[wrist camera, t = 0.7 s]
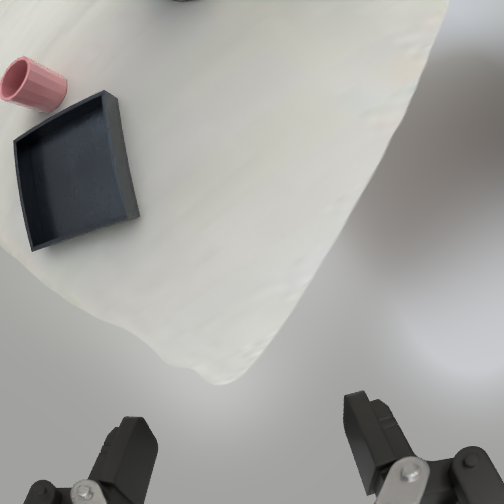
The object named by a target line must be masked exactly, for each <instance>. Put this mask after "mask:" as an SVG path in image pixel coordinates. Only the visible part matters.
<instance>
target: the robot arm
mask: <svg viewBox="0 0 504 504" xmlns="http://www.w3.org/2000/svg"><path fill="white" fill-rule="evenodd" d="M176 1H188V0H176ZM343 415H344V416H343V423H344V429H345V433H346V436H347V438H348V442H349V444H350V447H351V450H352V453H353V456H354V459H355V461H356V465H357V467H358V470H359V473H360V476H361V479H362V482H363V485H364V488H365V491H366V494H367V496H368V495H371V494H374V493H375V495H376V498H377V499H376V501H375V503H374V504H504V483H503V481H502V479H501V477H500V475H499V474H498V472H497V470H496V469H495V467H494V465H493V463H492V462H491V460H490V458H489V457H488V455H487V453H486V452H485V451H484V450H483V449H482V448H480V447H476V446H470V447H466V448H463V449H462V450H460V451H459V452H458V453H457V454H456V455H455V457H454V458H450V459H444V460H439V461H425V460H423V459H422V458H419V457H417V456H416V455H415V454H414V452H413V451H412V449H411V447H410V445H409V443H408V441H407V439H406V438H405V436H404V434H403V432H402V430H401V428H400V427H399V425H398V423H397V421H396V419H395V418H394V417H393V414H392V412H391V411H390V409H389V407H388V406H387V405H386V404H385V403H383V402H382V401H380V400H379V399H377V400H374V401H371V402H370V401H369V399H368V397H367V395H366V393H365V392H364V391H359V392H355V393H352V394H348V395H345V396H344V414H343ZM157 453H158V443H157V440H156V438H155V436H154V435H153V433H152V431H151V430H150V428H149V426H148V425H147V423H146V421H145V419H144V418H143V417H129V416H126V417H124V418H123V420H122V422H121V424H120V426H119V427H115V428H114V429H113V430H112V431H111V432H110V433H109V435H108V436H107V438H106V440H105V442H104V446H102V449H101V453H99V456H98V458H97V460H96V462H95V464H94V466H93V469H92V471H91V473H90V475H89V477H88V479H86V480H81V481H78V482H77V483H76V484H74V485H73V487H72V488H56V487H55V486H54V485H53V484H51V482H49V481H47V480H39V481H37V482H35V483H34V484H33V485H32V486H31V488H30V490H29V493H28V495H27V497H26V499H25V501H24V504H144V500H145V497H146V493H147V489H148V485H149V482H150V478H151V474H152V471H153V467H154V464H155V460H156V456H157Z"/></svg>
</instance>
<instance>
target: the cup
mask: <svg viewBox="0 0 504 504" xmlns="http://www.w3.org/2000/svg"><path fill="white" fill-rule="evenodd" d="M66 90H67V82H66V80H65V78H64V77H62V76H61V75H59V74H57V73H55V72H54V71H52V70H50V69H48V68H46V67H44V66H43V65H41V64H39V63H37V62H35V61H33V60H31V59H29V58H27V57H20V58H18V59H16V60H15V61H14V62H13V63H12V64H11V65H10V66H9V67H8V68H7V70H6V71H5V73H4V75H3V77H2V79H1V83H0V98H1V99H2V100H4V101H6V102H10V103H13V104H17V105H20V106H23V107H26V108H30V109H33V110H36V111H39V112H43V113H48V112H51V111H53V110H54V109H56V108H57V107H58V106H59V105H60V103H61V102H62V100H63V99H64V97H65V94H66Z"/></svg>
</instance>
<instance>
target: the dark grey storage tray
mask: <svg viewBox="0 0 504 504" xmlns="http://www.w3.org/2000/svg"><path fill="white" fill-rule="evenodd" d="M13 144H14V156H15V166H16V175H17V182H18V189H19V195H20V201H21V207H22V212H23V217H24V222H25V226H26V231H27V235H28V239H29V243H30V247H31V251H32V252H33V251H36V250H39V249H42V248H45V247H48V246H50V245H53V244H56V243H59V242H62V241H64V240H67V239H70V238H73V237H76V236H79V235H82V234H85V233H88V232H91V231H94V230H97V229H100V228H103V227H106V226H110V225H113V224H116V223H119V222H123V221H126V220H129V219H132V218H136V217H139V216H140V214H139V210H138V205H137V201H136V197H135V193H134V188H133V184H132V179H131V174H130V169H129V165H128V159H127V154H126V149H125V143H124V138H123V132H122V126H121V120H120V113H119V106H118V99H117V98H116V97H114V96H113V95H111V94H110V93H108V92H107V91H105V90H103V91H101V92H99V93H97V94H94V95H92V96H90V97H88V98H86V99H84V100H82V101H80V102H78V103H76V104H74V105H72V106H70V107H68V108H66V109H64V110H63V111H61V112H59V113H57V114H55V115H54V116H52V117H50V118H48V119H47V120H45V121H43V122H42V123H40V124H38V125H37V126H35V127H33V128H32V129H30V130H29V131H27V132H25V133H24V134H22V135H21V136H19V137H18V138H16V139H15V140H14V141H13Z"/></svg>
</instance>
